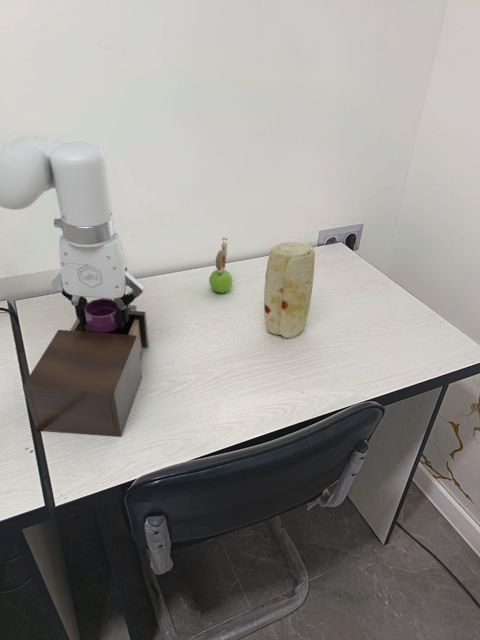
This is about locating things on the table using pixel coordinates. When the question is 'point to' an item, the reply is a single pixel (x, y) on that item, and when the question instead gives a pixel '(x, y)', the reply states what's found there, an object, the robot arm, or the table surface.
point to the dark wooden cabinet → (85, 383)
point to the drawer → (126, 327)
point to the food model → (288, 288)
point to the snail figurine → (221, 272)
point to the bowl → (101, 315)
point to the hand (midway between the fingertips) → (103, 321)
